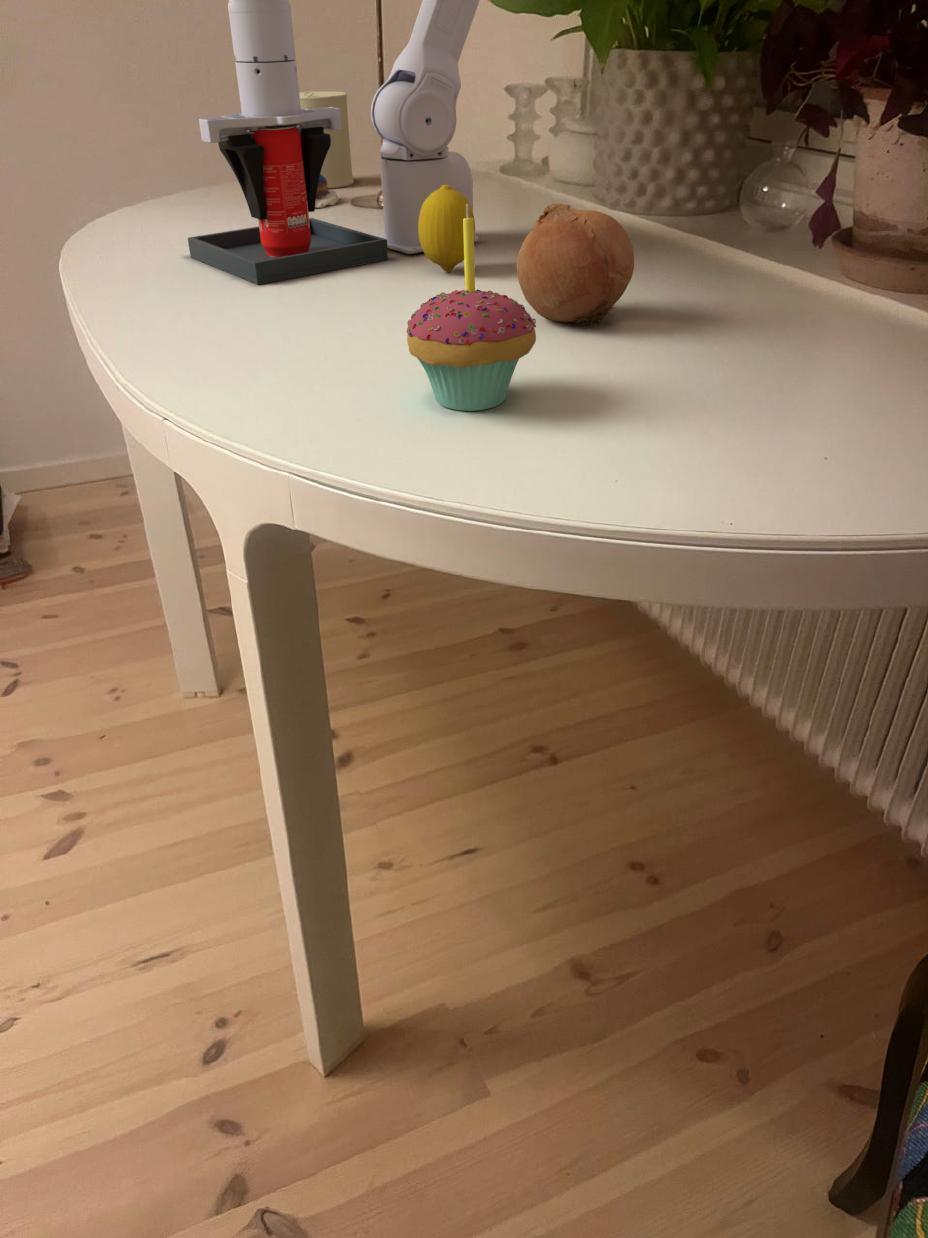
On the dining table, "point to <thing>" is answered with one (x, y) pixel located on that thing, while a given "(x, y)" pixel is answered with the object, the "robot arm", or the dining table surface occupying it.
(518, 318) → the cupcake
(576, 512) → the dining table surface
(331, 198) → the dessert
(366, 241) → the tray
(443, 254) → the lemon
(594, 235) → the onion
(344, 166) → the cream cylindrical container
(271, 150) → the beverage can
